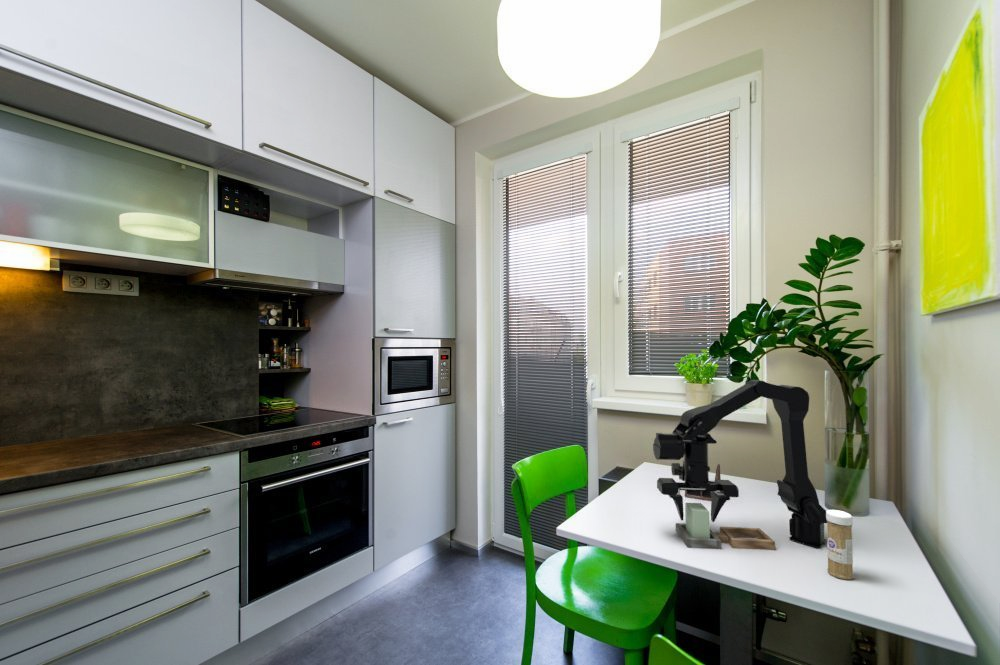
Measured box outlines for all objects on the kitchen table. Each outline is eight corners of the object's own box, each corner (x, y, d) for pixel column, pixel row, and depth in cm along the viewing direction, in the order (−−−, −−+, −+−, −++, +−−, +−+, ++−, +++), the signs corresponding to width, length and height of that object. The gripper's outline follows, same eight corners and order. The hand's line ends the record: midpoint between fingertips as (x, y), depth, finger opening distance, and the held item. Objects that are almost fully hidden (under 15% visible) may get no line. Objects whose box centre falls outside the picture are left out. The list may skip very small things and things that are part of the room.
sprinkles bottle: (822, 572, 95) (821, 510, 96) (835, 568, 97) (834, 507, 98) (846, 582, 91) (844, 518, 92) (859, 578, 93) (857, 514, 93)
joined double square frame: (757, 534, 115) (757, 526, 115) (777, 551, 105) (777, 543, 105) (675, 530, 117) (675, 523, 117) (687, 547, 107) (687, 539, 107)
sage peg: (709, 543, 109) (709, 511, 109) (693, 543, 109) (692, 510, 109) (701, 533, 115) (700, 503, 115) (685, 532, 115) (685, 502, 115)
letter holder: (684, 497, 143) (684, 454, 144) (691, 481, 161) (690, 443, 161) (718, 503, 139) (717, 458, 139) (721, 485, 156) (720, 446, 156)
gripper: (721, 453, 119) (722, 510, 119) (651, 451, 122) (652, 507, 121) (739, 464, 108) (740, 527, 108) (662, 462, 110) (663, 523, 110)
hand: (697, 520), depth 112 cm, fingers open, 7 cm apart
